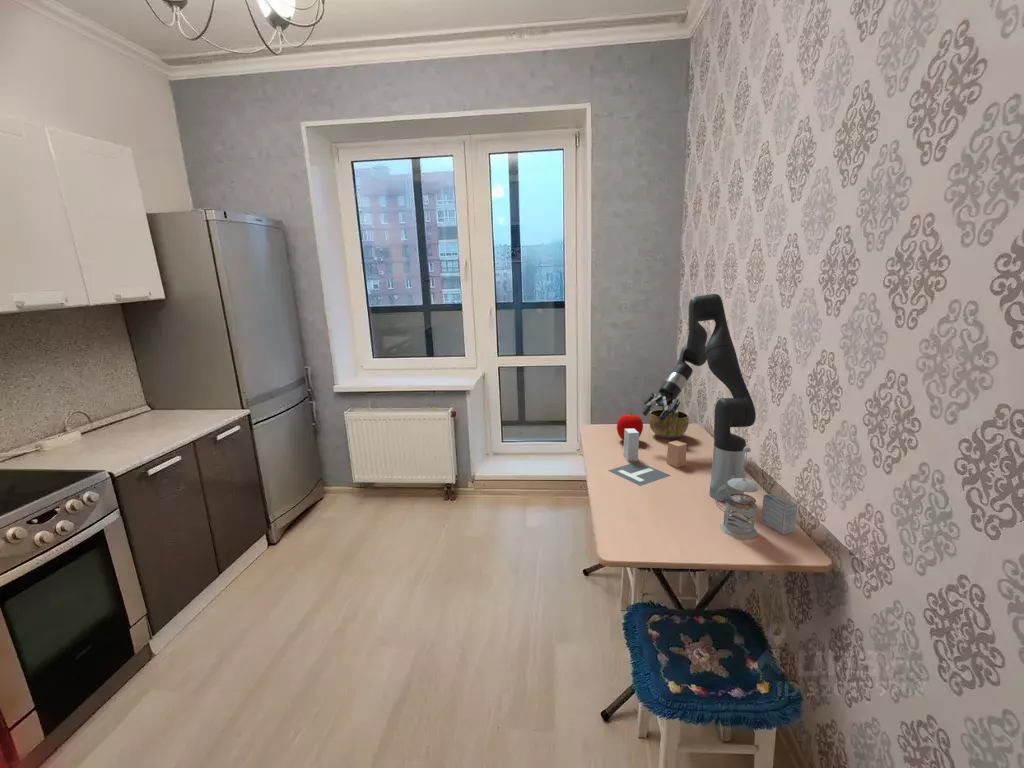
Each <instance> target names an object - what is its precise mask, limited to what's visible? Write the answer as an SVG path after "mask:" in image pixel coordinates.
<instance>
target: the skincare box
mask: <svg viewBox="0 0 1024 768" xmlns="http://www.w3.org/2000/svg"><path fill="white" fill-rule="evenodd" d="M639 445H640V437H639V432H638V431H636V430H635V429H634V428H633V429H624V441H623V452H622V456H623V458H624V459H625V460H626V461H627V462H639Z"/></svg>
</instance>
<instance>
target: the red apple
mask: <svg viewBox="0 0 1024 768" xmlns="http://www.w3.org/2000/svg"><path fill="white" fill-rule="evenodd" d="M633 428H634V429H635V430H636V431H638V432H639V438H640V437H641V435H642V432H643V430H644V422H643V420H642V418H641V417H640V416H639V414H636V413H635V414H634V413H626V414H623V415H621V416H620V417H619V418H618V420H617V424H616V430H617V434H618V436H619V438H620V439H621V440H622V441H623V442H624V429H633Z"/></svg>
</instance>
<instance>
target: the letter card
mask: <svg viewBox="0 0 1024 768" xmlns="http://www.w3.org/2000/svg"><path fill="white" fill-rule="evenodd" d="M607 471H608V472H610V473H611V474H614V475H616V476H618V477H620V478H623V479H624V480H626V481H629V482H631V483H633V484H636V485H637V486H640V487H641V486H645V485H648V484H651V483H654V482H657V481H659V480H662V479H665V478H669V477H671V476H672V475H671V474H668V473H666V472H664V471H661V470H659V469H657V468H655V467H651V466H649V465H647V464H645V463H642V462H641V461H634V462H631V463H628V464H626V465H622V466H619V467H615V468H612V469H608V470H607Z"/></svg>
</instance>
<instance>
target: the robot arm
mask: <svg viewBox="0 0 1024 768" xmlns="http://www.w3.org/2000/svg"><path fill="white" fill-rule="evenodd" d="M705 321H714V324H715V325H714V329H713V332H712V333H711V335H710V337H709V339H708V332H707V330H706V329H705V327H703V326H702V324H701V323H699V322H705ZM707 340H708V341H707ZM706 362H707V365H708V369H709V370H710V371H711V372H712V374H713V375H714V376H715V377H716V378H717V379H718V380H719V381H720V382H721V383H723V385H725V386H726V388H727V389H728V390H729V392H730V394H731V397H723V398H722V397H721V398H719V399H717V401H716V403H715V407H714V417H713V418H714V422H713V423H714V425H713V428H714V429H713V438H714V439H713V440H714V441H713V442H714V443H713V450H712V462H711V463H712V465H711V475H710V484H709V485H710V486H709V495H710V497H712V498H713V499H714V500H716V493H717V491H718V489H719V488H720V487H722V486H725V485H727V486H728V492H727V489H726V488H727V486H725V487H726V488H725V487H722V488H725V489H722V488H721V489H722V490H720V491H719V492H718V494H717V500H718V501H719V502H724V503H726V501H727V499H728V495H729V494H731V493H742V491H738V490H735V489H733V488H731V487H730V486H729V485H728V481H729V480H731V479H734V478H745V479H746V476H747V474H746V473H747V472H746V471H745V477H744V468H745V459H746V452H745V451H743V449H744V447H747V441H746V439H745V438H744V437H742V436H740V435H737V434H734V433H732V432H731V428H747V427H748V428H749V427H752V426H753V425H754V424H755V423H756V417H757V415H756V408H755V404H754V402H753V399H752V396H751V394H750V391H749V390H748V386H747V385H746V382H745V379H744V376H743V374H742V371H741V366H740V363H739V360H738V355H737V351H736V348H735V346H734V343H733V340H732V337H731V334H730V330H729V327H728V322H727V318H726V311H725V307H724V302H723V299H722V297H721V296H720V294H718V293H711V294H710V293H709V294H703V295H696V296H693V297H691V298H690V300H689V303H688V336H687V341H686V344H685V345H684V346H683V347H682V349H681V351H680V355H679V358H678V361H677V363H676V366H674V368H673V370H672V371H671V372H670V374H669V375H668V376H667V377H666V379H665V381H664V382H663V383H662V385H661V386H660V388H659V390H658V393H656V394H655V392H653V391H651V392H650V393H649V395H648V396H647V397H646V399H645V400H644V401H643V404H644V405H645V407H644V408H643V410H642V414H643V416H644V417H645V416H648V414H650V412H651V411H652V410H651V409H653V408H654V407H662V408H663V407H664V408H665V411H663V412H662V414H661V415H660V417H659V419H660V420H661V421H663V420H665V418H666V417H667V415H668V414H670V413H672V414H674V413H675V411H676V410H677V409H678V408H679V405H681V401H680V400H679V398H678V397H679V395H680V394H681V392H682V390H683V389H684V387H685V386H686V383H687V382H688V380H689V379H690V377H691V376H692V374H693V370H694V369H693V368H692V366H690V365H689V364H688V363H690V364H692V365H693V366H695V367H696V366H697V367H700V366H701V367H702V366H703V365H704V364H706ZM670 404H671V407H670ZM743 494H745V492H743ZM717 500H716V501H717ZM732 503H734V502H731V504H732Z"/></svg>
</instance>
